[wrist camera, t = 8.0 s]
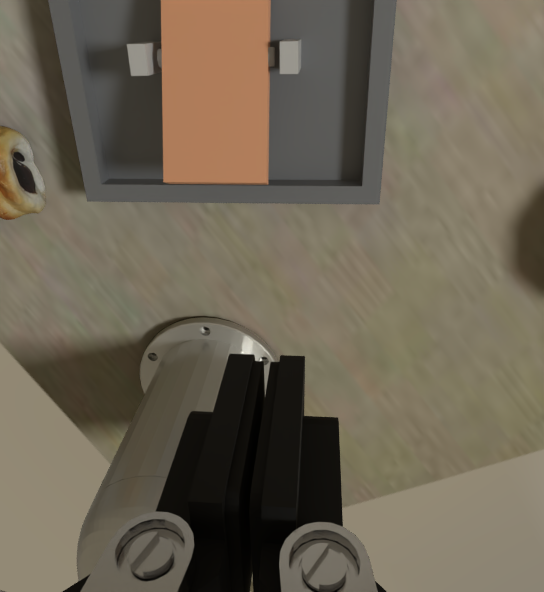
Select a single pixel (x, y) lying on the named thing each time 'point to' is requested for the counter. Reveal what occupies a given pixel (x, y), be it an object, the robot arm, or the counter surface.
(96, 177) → the breaker panel
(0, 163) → the pastry
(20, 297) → the counter surface
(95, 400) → the counter surface
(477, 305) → the counter surface
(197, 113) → the rocker
